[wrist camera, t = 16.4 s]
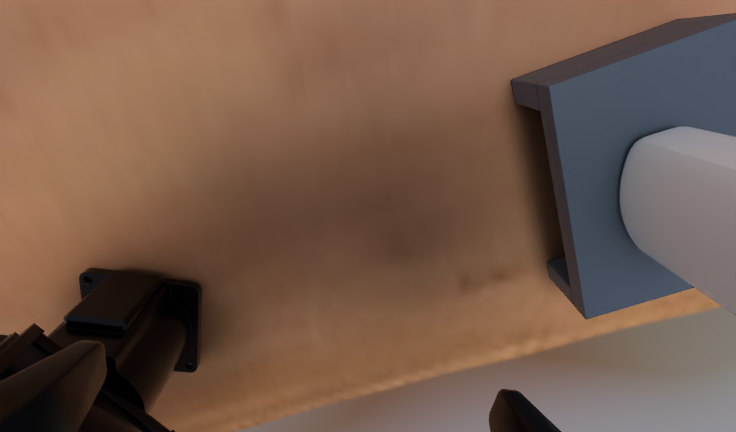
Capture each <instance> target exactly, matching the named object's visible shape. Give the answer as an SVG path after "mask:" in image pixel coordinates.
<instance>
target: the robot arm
mask: <svg viewBox="0 0 736 432" xmlns="http://www.w3.org/2000/svg"><path fill="white" fill-rule="evenodd" d="M89 277H91V278H93V280H92V279H90V278H89ZM79 282H80V291H81V299H82V300H81V301H80V302H79V303H78V304H77V305H76V306H75V307H74V308H73V309H72V310H70V311H69V312H68V313H67V314H66V315H65V316H64V321H63V322H62V323H61V324H60V325H59V326H58V327H57V328H56V329H55V330H54V331H53V332H52V333H51V334H49V335H48V336H46V335H45V334H43V333H44V330H43V329H41V328H40V327H39V326H37V325H36V324H35V323H34V324H32V325H31V326H30V327H28V328H27V329H26V330H24V331H23V332H21V333H20V334H17V333H16V332H15V333H13V334H12V335H11V334H10V335H9V336H7V335H0V432H175V431H174V430H171V431H170V430H169V429H167V428H166V427H165V426H163V425H162V424H161V423H160V422H158V421H157V420H156V419H154V418H153V417H152V416H150V415H149V412H150V411H151V409H152V407H153V405H154V403H155V402H156V400H157V398H158V396H159V395H160V393H161V391H162V389H163V388H164V386H165V384H166V382H167V381H168V379H169V377H170V375H171V373H172V372H173V371H180V372H194V371H196V370H197V368H198V366H199V363H200V327H201V287H200V286H199V285H198V284H197V283H194V282H188V281H181V280H173V279H166V278H160V277H157V276H149V275H142V274H134V273H127V272H119V271H114V272H113V271H106V270H98V269H87V270H85V271H84V272H83V273H82V274H81V275H80V276H79ZM189 290H193V291H194V293H191V292H189ZM188 363H190V364H192V365H190V364H188ZM489 425H490V431H491V432H561V431H560V430H559V429H558V428H557V427H556V426H555V425H554V424H553V423H551V422H550V421H549V420H548V419H547V418H546V417H545V416H544V415H543V414H542V413H541V412H540V411H539V410H538V409H537V408H536V407H535V406H534V405H533V404H531V402H530V401H528V400H527V399H526V398H525V397H524V396H523V395H522V394H521V393H520V392H519V391H516V390H508V389H501V390H500V391H499V392H498V394H497V397H496V399H495V402H494V404H493V406H492V408H491V411H490V414H489Z"/></svg>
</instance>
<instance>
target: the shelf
mask: <svg viewBox="0 0 736 432" xmlns="http://www.w3.org/2000/svg"><path fill="white" fill-rule="evenodd" d="M511 83H512V88H513V93H514V98H515V103H517V104H520V105H523V106H526V107H529V108H533V109H536V110H539V111H541V117H542V123H543V129H544V135H545V140H546V146H547V152H548V158H549V164H550V169H551V175H552V181H553V187H554V193H555V199H556V204H557V210H558V216H559V222H560V228H561V233H562V239H563V245H564V251H565V256H564V257H561V258H558V259H555V260H552V261H548V262H547V266H548V271H549V276H550V278H551V280H552V281H553V282H554V283H555V284H556V285H557V286H558V288H559V289H560V290H561V291H562V292H563V293H564V294H565V296H566V297H567V298H568V299H569V300H570V301H571V302H572V304H574V306H575V307H576V309H577V310H578V311H579V312H580V313H581V314H582V315H583V317H584V318H585V319H589V318H592V317H596V316H599V315H603V314H606V313H609V312H613V311H616V310H620V309H623V308H626V307H630V306H633V305H637V304H640V303H643V302H647V301H650V300H653V299H657V298H660V297H664V296H667V295H670V294H674V293H677V292H681V291H684V290H687V289H691V288H694V287H693V286H692V285H690V284H689V283H688V282H686V281H685V280H683V279H682V278H680V277H679V276H677V275H676V274H674V273H673V272H671V271H670V270H669V269H667V268H666V267H664V266H663V265H661V264H660V263H658V262H657V261H655V260H654V259H653V258H651V257H650V256H648V255H647V254H645V253H644V252H642V251H641V250H640V249H639V248H638V247H637V246H636V245H635V243H634V242H633V241H632V239H631V237H630V236H629V234H628V232H627V230H626V227H625V225H624V222H623V218H622V214H621V209H620V183H621V177H622V172H623V168H624V165H625V162H626V159H627V156H628V153H629V151H630V149H631V147H632V146H633V145H634V143H635V142H637V141H638V140H640V139H642V138H643V137H646V136H649V135H652V134H655V133H658V132H662V131H665V130H668V129H671V128H675V127H685V126H687V127H693V128H697V129H702V130H706V131H711V132H715V133H720V134H725V135H729V136H734V137H736V13H733V14H723V15H714V16H704V17H694V18H684V19H677V20H674V21H671V22H669V23H666V24H663V25H660V26H658V27H655V28H652V29H649V30H647V31H644V32H641V33H638V34H636V35H633V36H630V37H627V38H625V39H622V40H619V41H616V42H614V43H611V44H608V45H605V46H603V47H600V48H597V49H594V50H592V51H589V52H586V53H583V54H580V55H578V56H575V57H572V58H569V59H567V60H564V61H561V62H558V63H556V64H553V65H550V66H547V67H545V68H542V69H539V70H536V71H534V72H531V73H528V74H525V75H523V76H520V77H517V78H514V79H512V80H511Z"/></svg>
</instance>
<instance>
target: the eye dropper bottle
mask: <svg viewBox="0 0 736 432" xmlns="http://www.w3.org/2000/svg"><path fill="white" fill-rule="evenodd" d="M620 209H621V214H622V218H623V222H624V225H625V227H626V230H627V232H628V234H629V236H630V237H631V239H632V241H633V242H634V243H635V245H636V246H637V247H638V248H639V249H640V250H641V251H642V252H644V253H645V254H647V255H648V256H650V257H651V258H653V259H654V260H655V261H657V262H658V263H660V264H661V265H663V266H664V267H666V268H667V269H669V270H670V271H671V272H673V273H674V274H676V275H677V276H679V277H680V278H682V279H683V280H685V281H686V282H688V283H689V284H690V285H692V286H693V287H695V288H696V289H698V290H699V291H701V292H702V293H704V294H705V295H707V296H708V297H710V298H711V299H712V300H714V301H715V302H717V303H718V304H720V305H721V306H723V307H724V308H726V309H727V310H729V311H730V312H732V313H733V314H735V315H736V137H734V136H729V135H725V134H720V133H715V132H711V131H706V130H702V129H697V128H693V127H687V126H685V127H675V128H671V129H668V130H665V131H662V132H658V133H655V134H652V135H649V136H646V137H643V138H642V139H640V140H638V141H637V142H635V143H634V145H633V146H632V147H631V149H630V151H629V153H628V156H627V159H626V162H625V165H624V168H623V172H622V177H621V183H620Z"/></svg>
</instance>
